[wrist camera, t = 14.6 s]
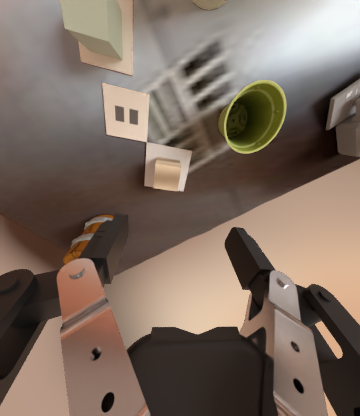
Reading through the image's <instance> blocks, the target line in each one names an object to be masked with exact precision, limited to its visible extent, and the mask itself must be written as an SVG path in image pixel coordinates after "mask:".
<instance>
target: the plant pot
mask: <svg viewBox="0 0 360 416" xmlns="http://www.w3.org/2000/svg"><path fill="white" fill-rule="evenodd" d="M232 106H235V108H231V107H232ZM243 113H244V114H245V120H244V121H243V118H244V115H243ZM285 114H286V99H285V95H284V92H283V91H282V89H281V88H280V86H279V85H277V84H276V83H275V82H273V81H269V80H259V81H256V82H253V83H251V84H249V85H247V86H246V87H245V88H243V89H242V90H241V91H240V92H239V93H238V94H237V95H236V96H235V97H234V99H233V100H232V102H231V103H230V104H229V105H227V106H226V107H225V108H224V109H223V111H222V112H221V114H220V116H219V120H218V128H219V131H220V133H221V134H222V135H223V136H224V137H225V139H226V142H227V143H228V145H229V146H230V147H231V148H232V149H233V150H234V151H236V152H239V153H244V154H247V153H253V152H256V151H258V150H260V149H262V148H263V147H265V146H266V145H267V144H268V143H270V142H271V141H272V139H273V138H274V137H275V136H276V135H277V133H278V132H279V130H280V128H281V126H282V124H283V121H284V118H285ZM233 119H234V122H232V120H233ZM234 132H236V134H233V135H230V133H234Z"/></svg>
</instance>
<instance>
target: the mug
mask: <svg viewBox="0 0 360 416" xmlns="http://www.w3.org/2000/svg"><path fill="white" fill-rule="evenodd" d="M113 218H114V216H112V215H97V216H95V217H94V218H92V219H91V220H90V221H89V222H86V223H85V228H84V232H83V233H82V235H81V236H79V237H78V238H76V239H74V240H73V241H72V243H73V244H72V245H71V249H70V250H69V251H68V252H67V254H66V255H65V256H64V258H63V262H64V266H65V265H66V264H67V263H69V262H71V261H73V260H76V259H77V258H78V257H79V255H80V254H81V252H82V251H83V249H84V248H85V247H86V245H87V244H88V242H89V241H90V239H91V238H92V237H93V235H94V233H95V232H96V230H97V229H98V227H99V226H100V224H102V223H103V222H105V221H106V220H111V221H112V219H113Z"/></svg>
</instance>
